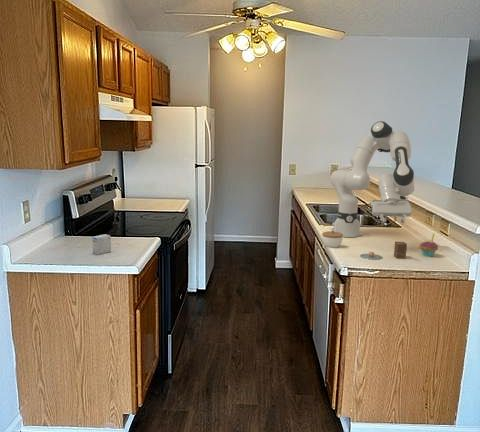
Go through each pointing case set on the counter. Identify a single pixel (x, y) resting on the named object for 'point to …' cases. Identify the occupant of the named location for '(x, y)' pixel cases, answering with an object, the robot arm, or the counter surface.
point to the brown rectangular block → (400, 250)
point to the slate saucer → (376, 257)
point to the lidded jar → (332, 239)
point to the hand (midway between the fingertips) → (393, 222)
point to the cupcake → (429, 248)
